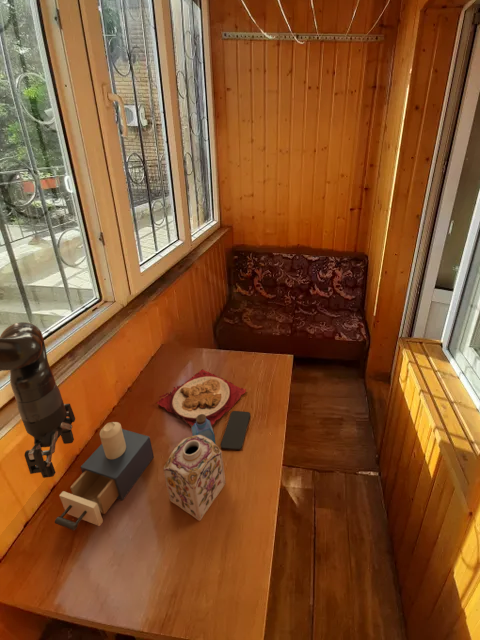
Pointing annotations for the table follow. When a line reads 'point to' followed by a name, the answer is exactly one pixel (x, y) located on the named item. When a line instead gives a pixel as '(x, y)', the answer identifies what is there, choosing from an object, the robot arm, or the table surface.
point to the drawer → (88, 499)
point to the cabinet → (123, 462)
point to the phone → (235, 430)
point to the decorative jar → (194, 475)
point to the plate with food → (202, 398)
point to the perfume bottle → (203, 428)
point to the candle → (113, 440)
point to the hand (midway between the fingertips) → (60, 458)
